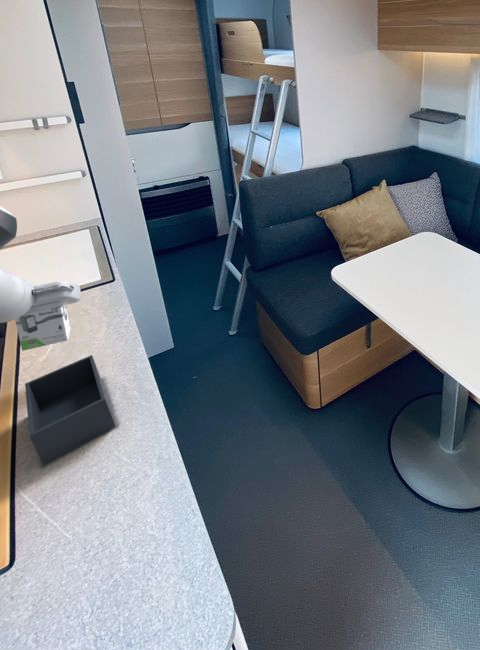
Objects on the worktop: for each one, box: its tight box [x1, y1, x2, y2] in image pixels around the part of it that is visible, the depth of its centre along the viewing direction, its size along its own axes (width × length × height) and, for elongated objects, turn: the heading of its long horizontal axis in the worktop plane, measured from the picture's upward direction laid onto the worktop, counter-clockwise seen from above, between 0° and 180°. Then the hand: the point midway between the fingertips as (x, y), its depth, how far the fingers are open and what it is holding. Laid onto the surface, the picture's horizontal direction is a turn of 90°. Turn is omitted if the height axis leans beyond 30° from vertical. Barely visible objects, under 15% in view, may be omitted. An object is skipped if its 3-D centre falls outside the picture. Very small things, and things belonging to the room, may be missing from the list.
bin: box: [24, 354, 116, 465], centre depth 86 cm, size 16×12×8 cm
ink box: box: [14, 305, 71, 352], centre depth 94 cm, size 9×5×12 cm, turn 119°
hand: (36, 309), depth 91 cm, fingers closed on ink box, 8 cm apart
